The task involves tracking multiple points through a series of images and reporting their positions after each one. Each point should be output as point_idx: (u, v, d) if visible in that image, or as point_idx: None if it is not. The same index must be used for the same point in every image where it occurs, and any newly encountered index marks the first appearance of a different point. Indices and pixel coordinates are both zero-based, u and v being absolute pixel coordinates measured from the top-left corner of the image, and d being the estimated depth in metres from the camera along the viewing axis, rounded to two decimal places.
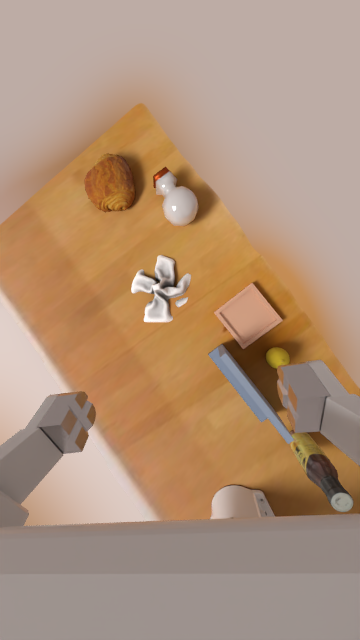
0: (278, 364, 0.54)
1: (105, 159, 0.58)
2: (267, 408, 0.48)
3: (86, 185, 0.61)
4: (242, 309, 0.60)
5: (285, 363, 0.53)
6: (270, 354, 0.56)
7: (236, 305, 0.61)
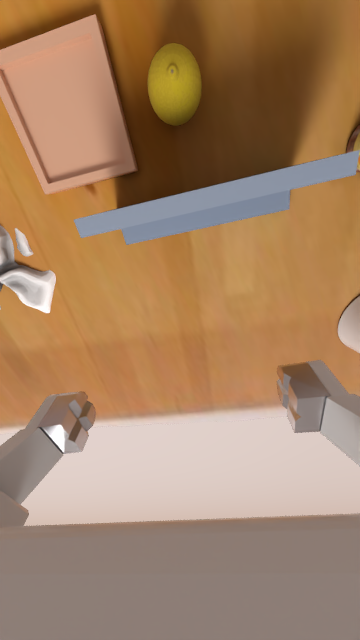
0: (178, 90, 0.20)
1: None
2: (242, 183, 0.18)
3: None
4: (51, 124, 0.26)
5: (183, 65, 0.19)
6: (153, 103, 0.22)
7: (40, 134, 0.27)
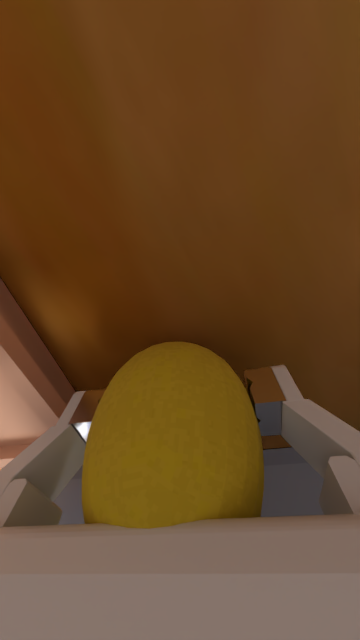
0: None
1: None
2: None
3: None
4: None
5: None
6: None
7: None
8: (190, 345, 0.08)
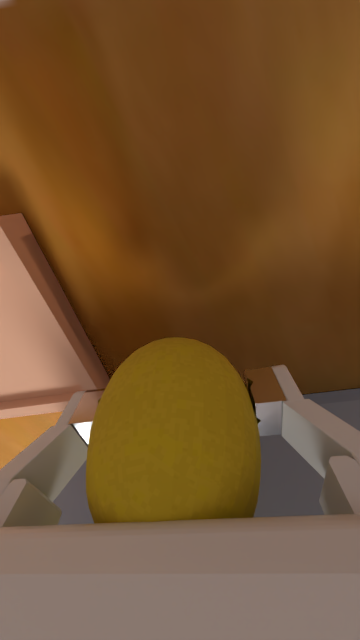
0: None
1: None
2: None
3: None
4: None
5: None
6: None
7: None
8: (190, 341, 0.08)
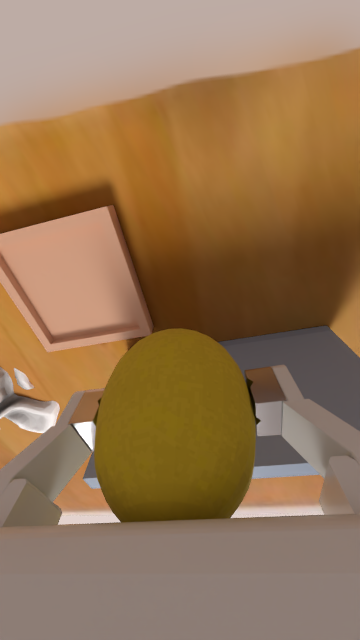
0: None
1: None
2: (297, 466, 0.14)
3: None
4: (54, 292, 0.23)
5: None
6: None
7: (41, 300, 0.23)
8: (190, 331, 0.08)
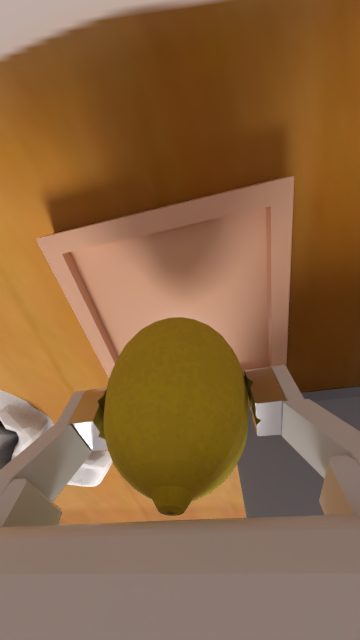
0: None
1: None
2: None
3: None
4: (148, 319, 0.15)
5: (206, 478, 0.06)
6: None
7: (125, 331, 0.15)
8: (189, 319, 0.09)
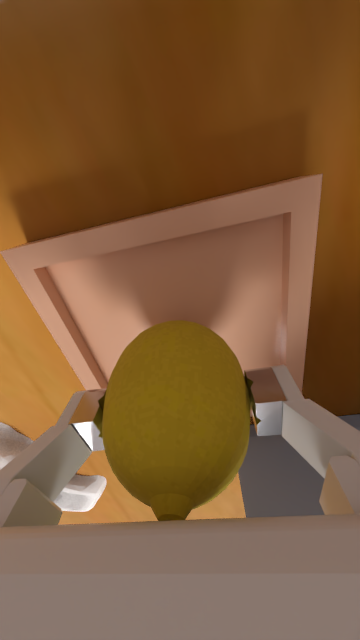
0: None
1: None
2: None
3: None
4: None
5: (207, 485, 0.06)
6: None
7: (114, 354, 0.13)
8: (190, 322, 0.09)
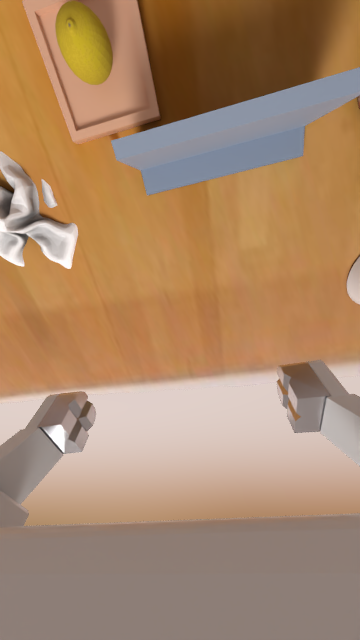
0: (80, 44, 0.22)
1: None
2: (268, 99, 0.20)
3: None
4: None
5: (80, 20, 0.21)
6: (65, 59, 0.24)
7: (70, 81, 0.29)
8: None
